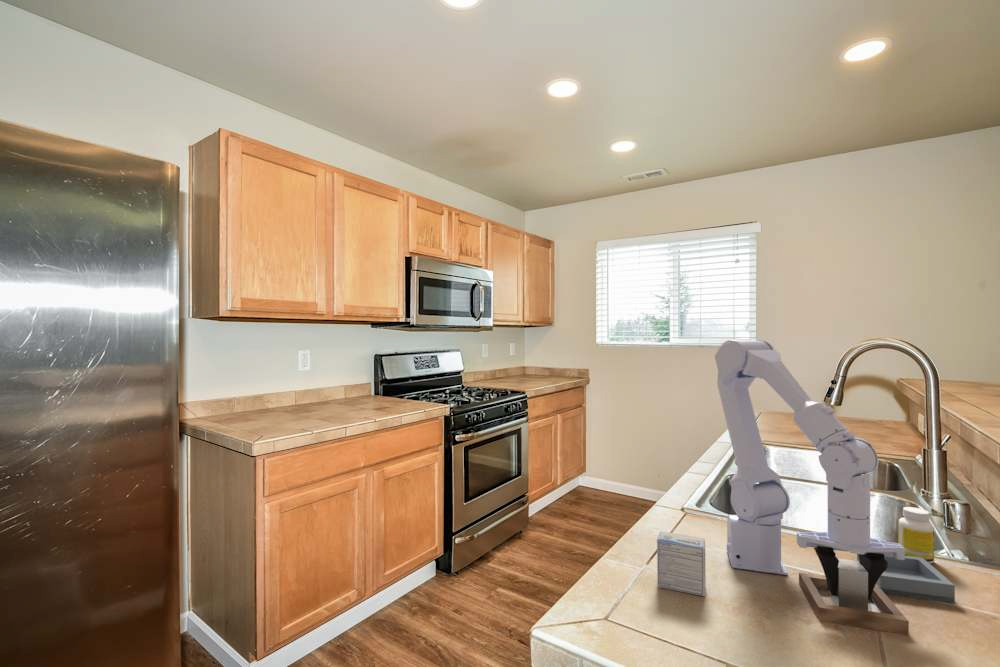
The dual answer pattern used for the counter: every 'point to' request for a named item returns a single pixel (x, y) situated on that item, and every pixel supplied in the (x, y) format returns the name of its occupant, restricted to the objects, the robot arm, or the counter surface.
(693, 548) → the medicine box
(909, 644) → the counter surface
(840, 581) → the brushed metal top block
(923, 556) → the supplement bottle
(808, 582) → the brown flat square frame
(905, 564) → the tray
